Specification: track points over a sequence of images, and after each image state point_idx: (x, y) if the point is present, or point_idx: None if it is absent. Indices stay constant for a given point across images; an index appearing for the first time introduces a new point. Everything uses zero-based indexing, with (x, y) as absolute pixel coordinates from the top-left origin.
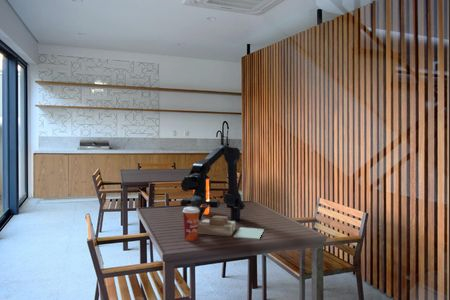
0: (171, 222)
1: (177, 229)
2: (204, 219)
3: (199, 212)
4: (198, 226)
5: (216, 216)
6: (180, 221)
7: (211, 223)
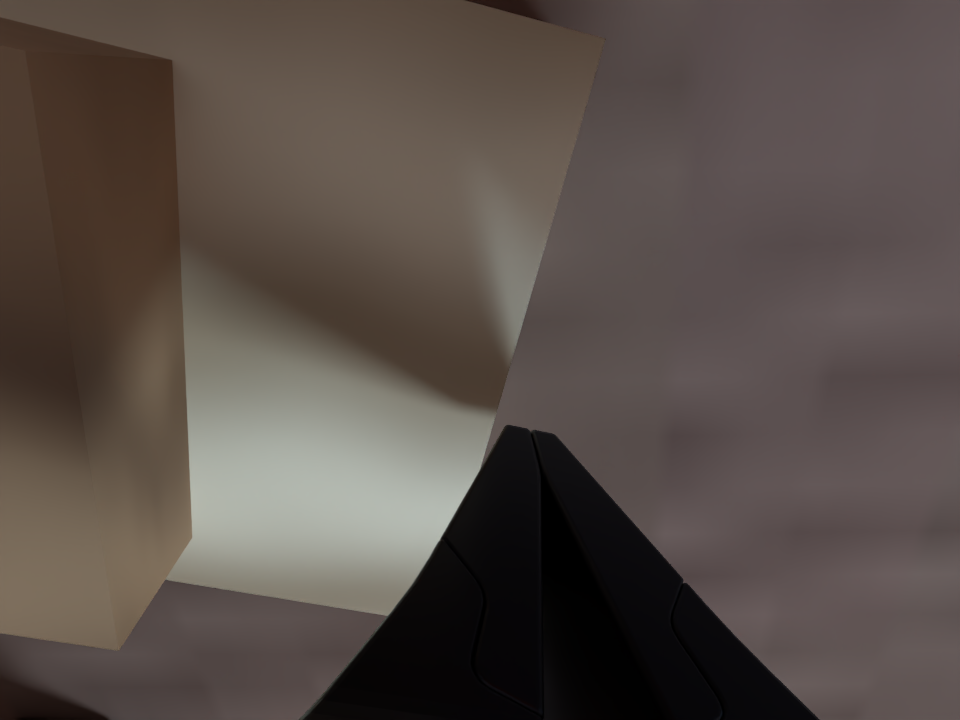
0: (941, 676)
1: (955, 357)
2: None
3: (579, 677)
4: (558, 32)
5: (8, 574)
6: None
7: (43, 38)
